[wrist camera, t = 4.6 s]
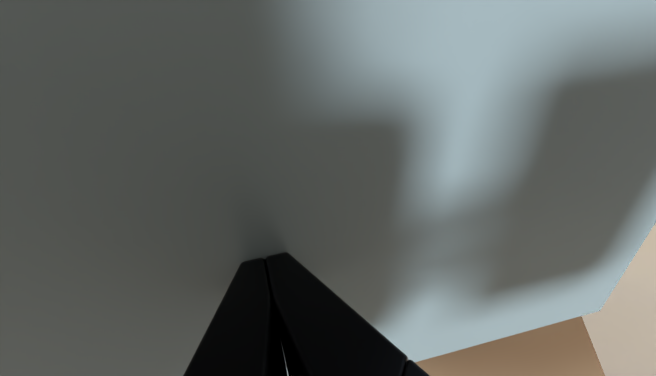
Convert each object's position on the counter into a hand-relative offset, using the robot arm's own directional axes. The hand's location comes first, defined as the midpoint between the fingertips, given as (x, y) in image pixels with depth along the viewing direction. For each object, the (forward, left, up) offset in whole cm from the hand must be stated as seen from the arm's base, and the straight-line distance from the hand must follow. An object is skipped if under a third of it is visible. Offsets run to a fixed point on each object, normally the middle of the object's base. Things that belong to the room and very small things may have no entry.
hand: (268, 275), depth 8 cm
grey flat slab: (-1, -2, -5) cm, 5 cm away
